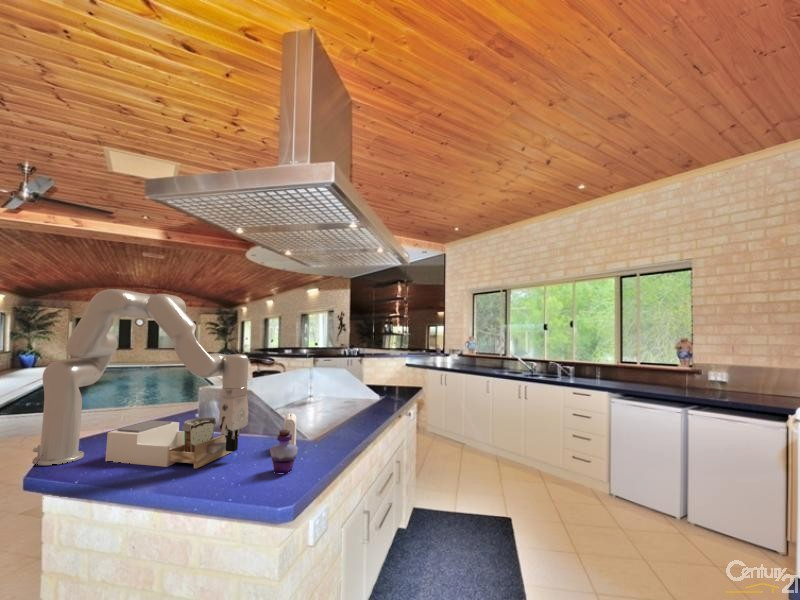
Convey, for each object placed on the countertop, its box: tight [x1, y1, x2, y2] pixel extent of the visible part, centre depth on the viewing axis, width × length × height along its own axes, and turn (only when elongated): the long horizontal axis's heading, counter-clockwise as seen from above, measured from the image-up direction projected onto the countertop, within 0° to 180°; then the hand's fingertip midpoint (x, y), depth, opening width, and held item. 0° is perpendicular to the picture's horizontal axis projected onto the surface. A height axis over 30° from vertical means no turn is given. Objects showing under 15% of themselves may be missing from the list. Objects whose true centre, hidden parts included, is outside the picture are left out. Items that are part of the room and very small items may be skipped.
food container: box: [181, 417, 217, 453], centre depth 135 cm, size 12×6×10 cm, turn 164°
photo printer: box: [283, 413, 298, 446], centre depth 148 cm, size 10×4×12 cm, turn 11°
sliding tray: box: [169, 434, 232, 469], centre depth 134 cm, size 14×18×7 cm
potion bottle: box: [269, 429, 299, 473], centre depth 124 cm, size 9×9×12 cm
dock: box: [105, 420, 185, 468], centre depth 137 cm, size 22×18×10 cm
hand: (231, 450), depth 132 cm, fingers closed
